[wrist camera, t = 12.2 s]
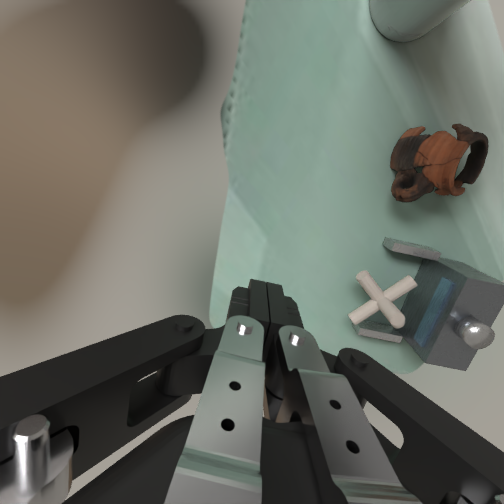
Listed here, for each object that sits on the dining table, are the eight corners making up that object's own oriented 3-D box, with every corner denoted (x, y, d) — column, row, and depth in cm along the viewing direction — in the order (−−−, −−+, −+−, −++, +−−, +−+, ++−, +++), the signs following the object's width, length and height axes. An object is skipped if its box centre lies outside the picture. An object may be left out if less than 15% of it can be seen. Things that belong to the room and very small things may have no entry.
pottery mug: (421, 105, 37) (493, 105, 31) (433, 158, 43) (495, 167, 37) (362, 173, 37) (422, 187, 31) (382, 216, 43) (436, 235, 36)
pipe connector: (411, 288, 45) (453, 324, 35) (358, 322, 47) (383, 365, 37) (378, 242, 42) (413, 267, 33) (323, 280, 44) (341, 314, 35)
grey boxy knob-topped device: (385, 237, 42) (430, 263, 31) (465, 255, 43) (536, 287, 32) (351, 324, 47) (381, 373, 36) (424, 338, 48) (474, 391, 37)
